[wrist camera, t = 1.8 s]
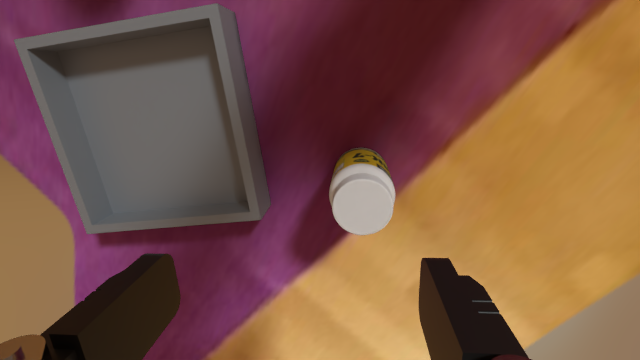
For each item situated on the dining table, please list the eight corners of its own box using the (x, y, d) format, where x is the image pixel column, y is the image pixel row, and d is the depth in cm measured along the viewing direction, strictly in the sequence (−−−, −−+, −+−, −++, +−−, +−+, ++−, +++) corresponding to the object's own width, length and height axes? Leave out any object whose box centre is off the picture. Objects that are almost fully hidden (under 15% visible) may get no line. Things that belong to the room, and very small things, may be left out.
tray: (234, 12, 26) (217, 3, 22) (271, 204, 31) (260, 219, 27) (54, 44, 28) (13, 39, 25) (114, 218, 33) (87, 233, 29)
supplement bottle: (397, 162, 28) (415, 196, 20) (370, 206, 30) (376, 253, 22) (349, 136, 28) (348, 160, 20) (324, 181, 29) (313, 220, 21)
